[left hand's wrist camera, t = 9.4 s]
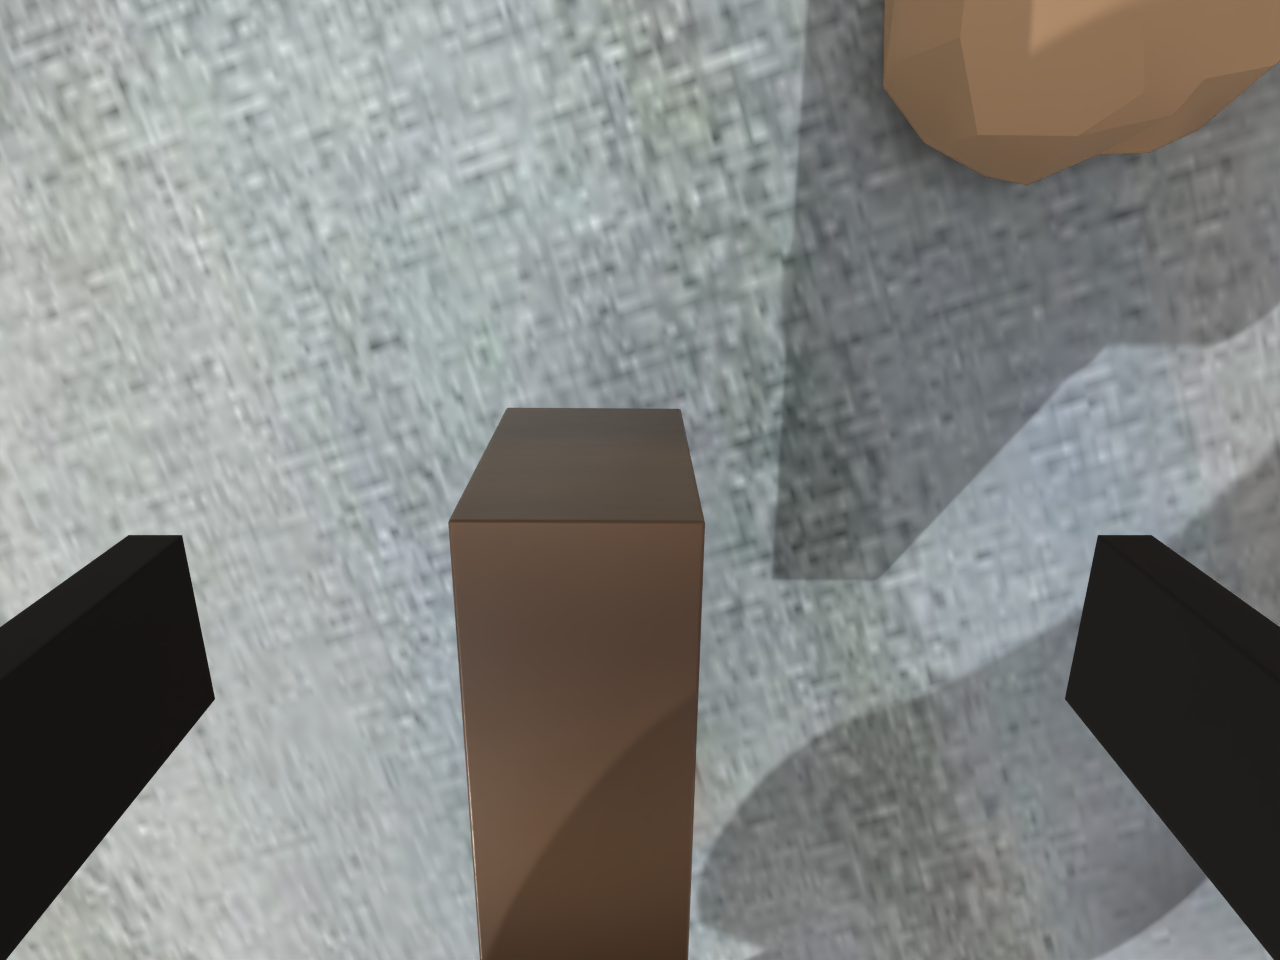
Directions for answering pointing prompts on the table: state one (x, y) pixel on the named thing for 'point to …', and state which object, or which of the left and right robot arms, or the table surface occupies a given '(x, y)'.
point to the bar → (581, 682)
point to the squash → (1069, 75)
